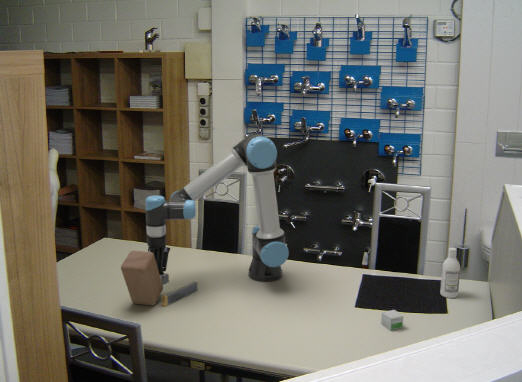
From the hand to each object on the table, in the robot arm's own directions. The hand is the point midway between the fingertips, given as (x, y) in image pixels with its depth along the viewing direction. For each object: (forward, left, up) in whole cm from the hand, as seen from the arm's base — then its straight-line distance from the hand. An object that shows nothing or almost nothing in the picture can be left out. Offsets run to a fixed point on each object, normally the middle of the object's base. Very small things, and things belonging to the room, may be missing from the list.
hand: (158, 289), depth 222 cm
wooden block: (0, +6, -1) cm, 6 cm away
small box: (-88, -29, -3) cm, 93 cm away
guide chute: (0, -4, -3) cm, 5 cm away
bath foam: (-97, -68, -3) cm, 119 cm away
